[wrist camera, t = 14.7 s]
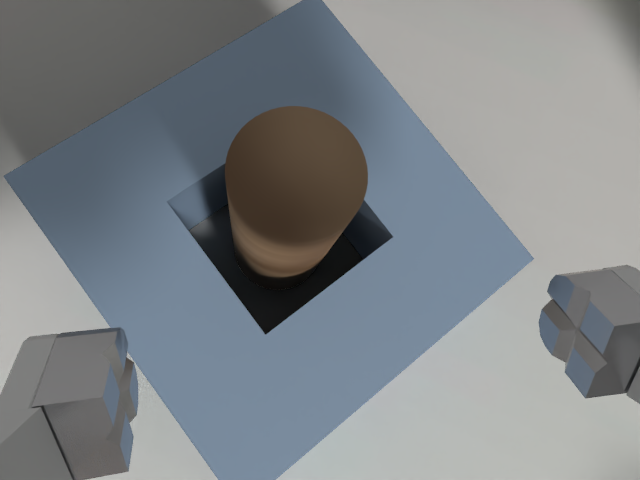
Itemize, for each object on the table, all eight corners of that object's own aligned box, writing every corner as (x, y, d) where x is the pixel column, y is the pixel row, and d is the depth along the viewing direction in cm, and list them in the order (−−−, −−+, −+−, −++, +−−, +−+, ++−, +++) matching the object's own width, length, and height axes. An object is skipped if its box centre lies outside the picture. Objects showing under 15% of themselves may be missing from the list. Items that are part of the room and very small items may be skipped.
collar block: (303, 59, 26) (315, -8, 22) (479, 278, 25) (534, 258, 20) (54, 214, 23) (3, 175, 18) (241, 476, 22) (239, 509, 17)
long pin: (286, 189, 25) (310, 81, 15) (337, 256, 24) (396, 188, 15) (216, 238, 24) (195, 155, 14) (268, 307, 23) (283, 271, 14)
